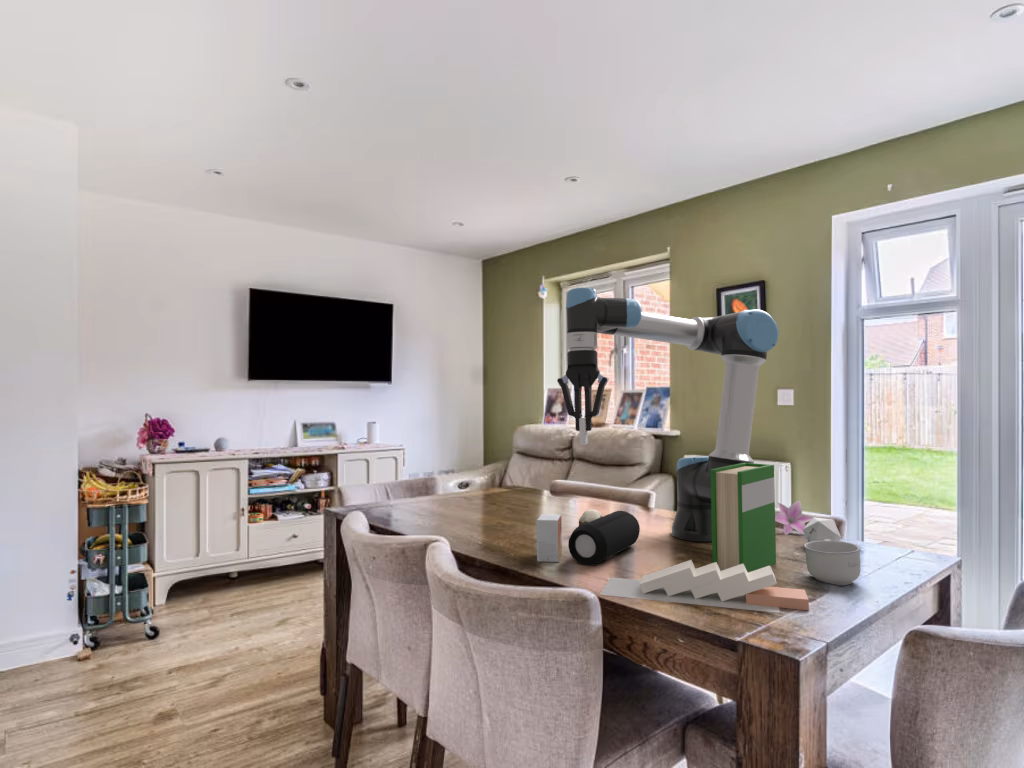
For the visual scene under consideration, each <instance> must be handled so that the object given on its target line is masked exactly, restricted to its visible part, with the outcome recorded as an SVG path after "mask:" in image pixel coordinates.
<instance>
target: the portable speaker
mask: <svg viewBox="0 0 1024 768" xmlns="http://www.w3.org/2000/svg"><path fill="white" fill-rule="evenodd" d="M640 531H641V529H640V524H639V520H638V519H637V518H636V517H635V516H634V515H633V514H631V513H630V512H628V511H625V510H616V511H613V512H611V513H608V514H606V515H602V517H600V518H598V519H595V520H593V521H590V522H588V523H585V524H583V525H581V526H579V525H578V526H577V527H575V529H574V530H573V531H572V532H571V534H570V537H569V539H568V542H567V543H568V546H567V547H568V550H569V555H570V556H571V557H572V558H573V560H575V561H576V562H578V563H579V564H582V565H586V566H587V565H588V566H590V565H592V566H593V565H594V566H595V565H597V564H600V563H602V562H603V561H605V560H607V559H609V558H610V557H612V556H614V555H616V554H618V553H620V552H622V551H624V550H626V549H628V548H629V547H631V546H633V545H635V544H636V542H637V540H638V538H639V536H640Z"/></svg>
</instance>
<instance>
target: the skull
mask: <svg viewBox="0 0 1024 768" xmlns="http://www.w3.org/2000/svg"><path fill="white" fill-rule="evenodd" d="M600 517H603V515H602V513H601V512H600V511H598V510H597V509H586V510H585V511H584V512H583V513H582V514H581V516H579V519H578V526H581V525H583V524H585V523H588V522H590V521H593V520H595V519H598V518H600Z"/></svg>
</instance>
